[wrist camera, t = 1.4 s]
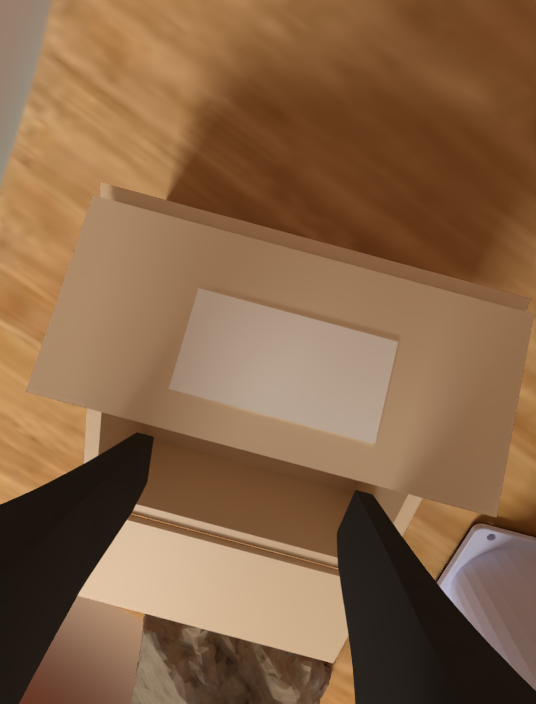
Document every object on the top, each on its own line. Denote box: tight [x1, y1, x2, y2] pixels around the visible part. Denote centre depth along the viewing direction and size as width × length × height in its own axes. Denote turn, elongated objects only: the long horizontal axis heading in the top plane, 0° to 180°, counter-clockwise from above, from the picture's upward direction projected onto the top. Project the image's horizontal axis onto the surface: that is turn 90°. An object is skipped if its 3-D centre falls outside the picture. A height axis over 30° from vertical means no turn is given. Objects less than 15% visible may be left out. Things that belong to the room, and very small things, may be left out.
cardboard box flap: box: [26, 195, 534, 518], centre depth 9 cm, size 14×6×1 cm, turn 76°
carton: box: [78, 183, 531, 663], centre depth 15 cm, size 14×19×5 cm
